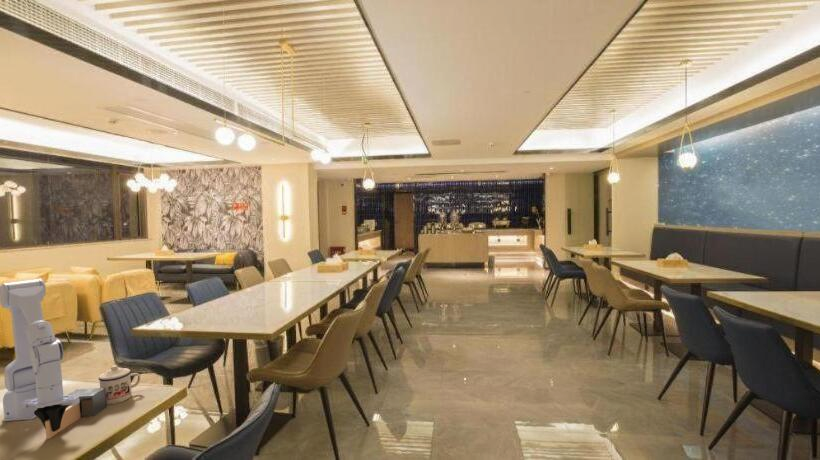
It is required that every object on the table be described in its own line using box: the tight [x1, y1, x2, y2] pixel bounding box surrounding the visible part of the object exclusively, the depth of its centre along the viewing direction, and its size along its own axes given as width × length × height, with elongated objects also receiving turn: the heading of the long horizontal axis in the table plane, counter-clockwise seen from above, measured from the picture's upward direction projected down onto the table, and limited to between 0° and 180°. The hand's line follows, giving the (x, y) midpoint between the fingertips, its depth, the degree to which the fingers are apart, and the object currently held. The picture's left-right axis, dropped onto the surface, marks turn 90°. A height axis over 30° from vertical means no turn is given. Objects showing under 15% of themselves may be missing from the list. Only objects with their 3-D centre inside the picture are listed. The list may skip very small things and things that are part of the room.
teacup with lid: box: [98, 364, 141, 406], centre depth 145 cm, size 12×9×12 cm
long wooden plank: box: [44, 403, 82, 439], centre depth 126 cm, size 1×12×5 cm, turn 3°
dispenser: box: [67, 387, 108, 418], centre depth 135 cm, size 9×7×7 cm
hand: (53, 429), depth 122 cm, fingers closed on long wooden plank
